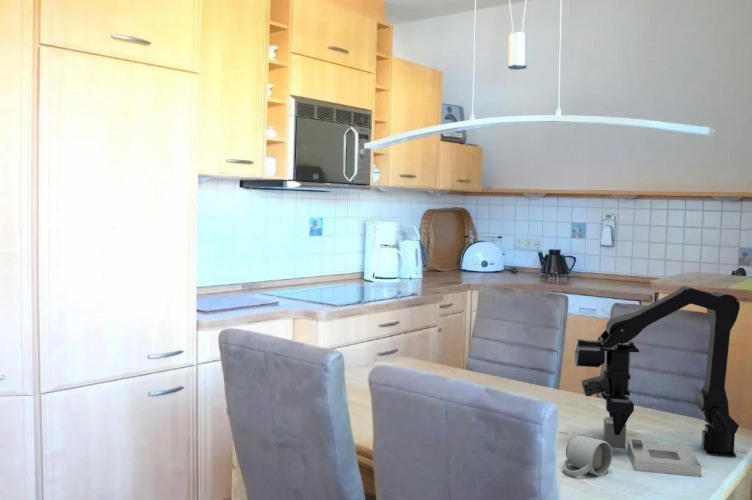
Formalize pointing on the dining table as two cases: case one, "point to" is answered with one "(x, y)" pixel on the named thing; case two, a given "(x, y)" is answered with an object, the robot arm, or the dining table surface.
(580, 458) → the ceramic mug
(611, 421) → the plug
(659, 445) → the socket plate
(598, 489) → the dining table surface
